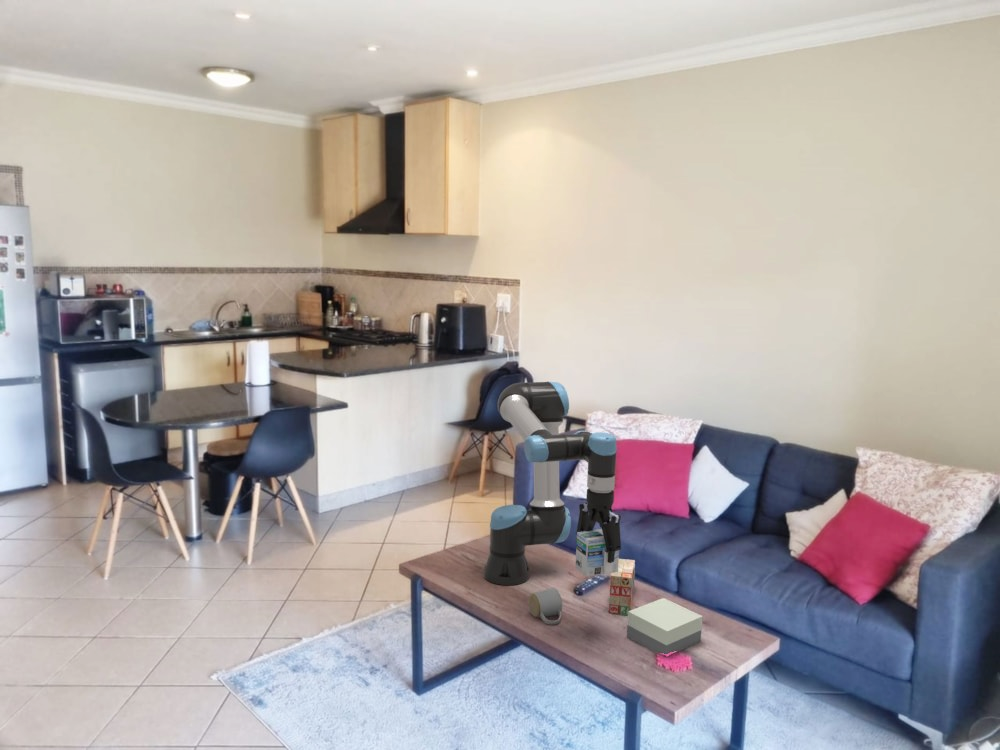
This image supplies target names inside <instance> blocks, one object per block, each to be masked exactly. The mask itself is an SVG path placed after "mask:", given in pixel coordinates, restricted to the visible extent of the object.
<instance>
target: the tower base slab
mask: <svg viewBox="0 0 1000 750" xmlns="http://www.w3.org/2000/svg"><path fill="white" fill-rule="evenodd" d="M626 625H627V624H626ZM626 637H627V638H628V639H630V640H632V641H634V642H636V643H638V644H640V645H642V646H643V647H645V648H648V649H649V650H651V651H653V652H655V653H657V652H658V653H657V654H659V653H664V654H668V653H670V652H674V651H679V652H681V651H683V650H685V649H686V647H687V648H689V647H691V646H693V645H695V644H698V643H699V641H700V642H701V640H702V639H701V638H702V630H700V631H698V632H696V633H693V634H691V635H689V636H687V637H684V638H682V639H680V640H678V641H675V642H673V643H671V644H669V645H665V644H663V643H661V642H659V641H657V640H655V639H653V638H651V637H650V636H648V635H646V634H644V633H642V632H640V631H638V630H636V629H634V628H632V627H631V626H629V625H627V626H626ZM690 645H691V646H690ZM688 646H689V647H688ZM684 648H685V649H684ZM682 649H683V650H682ZM680 650H681V651H680Z"/></svg>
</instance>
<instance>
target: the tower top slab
mask: <svg viewBox="0 0 1000 750" xmlns="http://www.w3.org/2000/svg"><path fill="white" fill-rule="evenodd" d="M703 618H704V616H703V615H701V614H698V613H696V612H694V611H693V610H690V609H688V608H685V607H684V606H681V605H679V604H677V603H675V602H673V601H671V600H669V599H667V598H665V597H663V598H659V599H657V600H654V601H652V602H649V603H646V604H644V605H641V606H639V607H636V608H633V609H631V611H628V616H627V624H626V625H629V626H631V627H632V628H634V629H636V630H638V631H640V632H642V633H644V634H646V635H648V636H650V637H651V638H653V639H655V640H657V641H659V642H661V643H663V644H665V645H669V644H671V643H673V642H675V641H678V640H680V639H682V638H684V637H687V636H689V635H691V634H693V633H696V632H698V631H700V630H701V631H702V629H703Z"/></svg>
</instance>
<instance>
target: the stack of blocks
mask: <svg viewBox="0 0 1000 750" xmlns="http://www.w3.org/2000/svg"><path fill="white" fill-rule="evenodd" d="M635 569H636V560H635V559H627V558H626V559H624V558H619V562H618V572H615V573H610V586H609V604H608V605H609V606H608V613H609V614H613V615H619V616H620V615H622V616H627V617H628V611H631V610H632V604H633V595H634V590H635V576H636V570H635Z"/></svg>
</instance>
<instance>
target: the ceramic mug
mask: <svg viewBox="0 0 1000 750" xmlns="http://www.w3.org/2000/svg"><path fill="white" fill-rule="evenodd" d="M528 608H529V611H530V613H531V615H532V616H533V617H534V618H538V619H539V618H541V620H542V621H543V622H544V623H546V624H547V625H551V626H553V625H557V624H559V623H560V622H561V618H562V611H563V600H562V597H561V594H560V592H559V590H558V589H557V588H556V587H550V588H547V589H544V590H543V589H542V590H539V591H536V592H533V593H531V594H529V598H528ZM557 615H558V619H556V620H550V619H548V618H547V617H552V616H557Z"/></svg>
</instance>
